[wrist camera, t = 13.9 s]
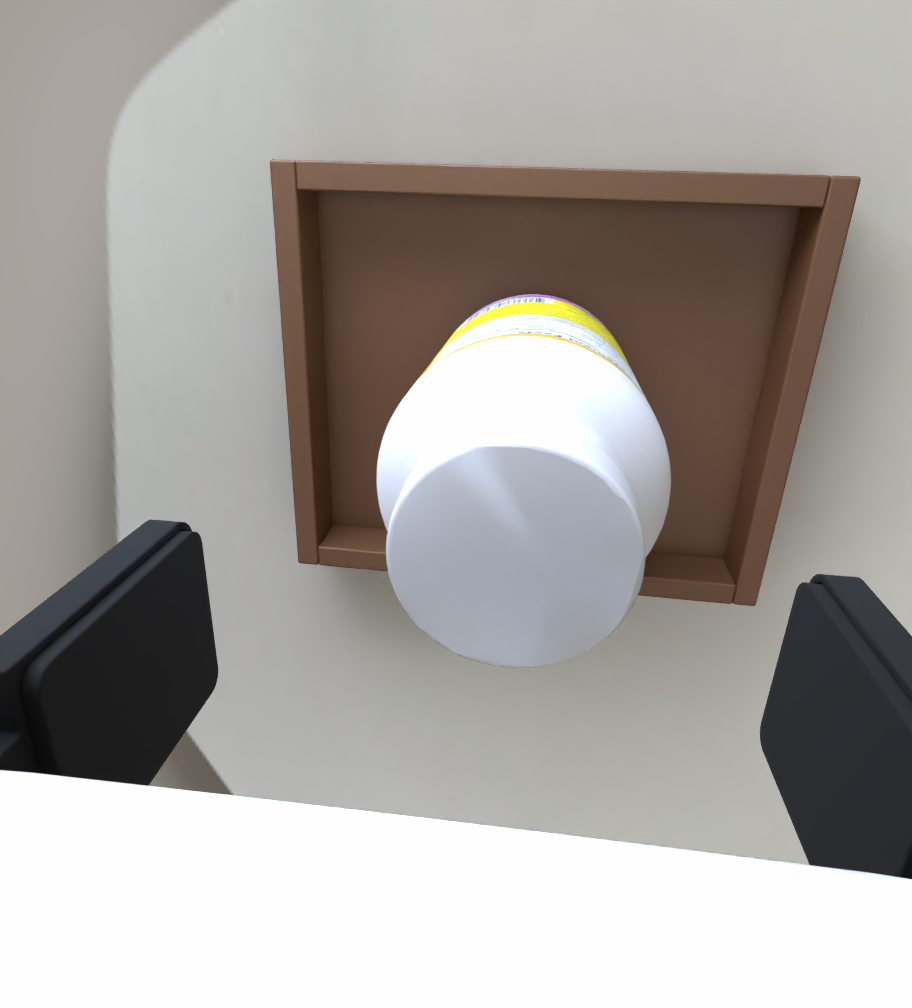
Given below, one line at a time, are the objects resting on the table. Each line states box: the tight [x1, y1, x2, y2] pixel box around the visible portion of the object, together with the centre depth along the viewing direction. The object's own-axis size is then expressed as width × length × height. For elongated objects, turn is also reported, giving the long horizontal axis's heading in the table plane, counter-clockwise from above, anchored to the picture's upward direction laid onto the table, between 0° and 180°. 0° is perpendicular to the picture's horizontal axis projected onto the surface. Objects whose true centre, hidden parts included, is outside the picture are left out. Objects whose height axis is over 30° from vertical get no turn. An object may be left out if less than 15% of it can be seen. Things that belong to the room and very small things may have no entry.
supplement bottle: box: [377, 294, 671, 668], centre depth 18 cm, size 7×7×13 cm
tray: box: [270, 159, 860, 606], centre depth 23 cm, size 17×14×3 cm
